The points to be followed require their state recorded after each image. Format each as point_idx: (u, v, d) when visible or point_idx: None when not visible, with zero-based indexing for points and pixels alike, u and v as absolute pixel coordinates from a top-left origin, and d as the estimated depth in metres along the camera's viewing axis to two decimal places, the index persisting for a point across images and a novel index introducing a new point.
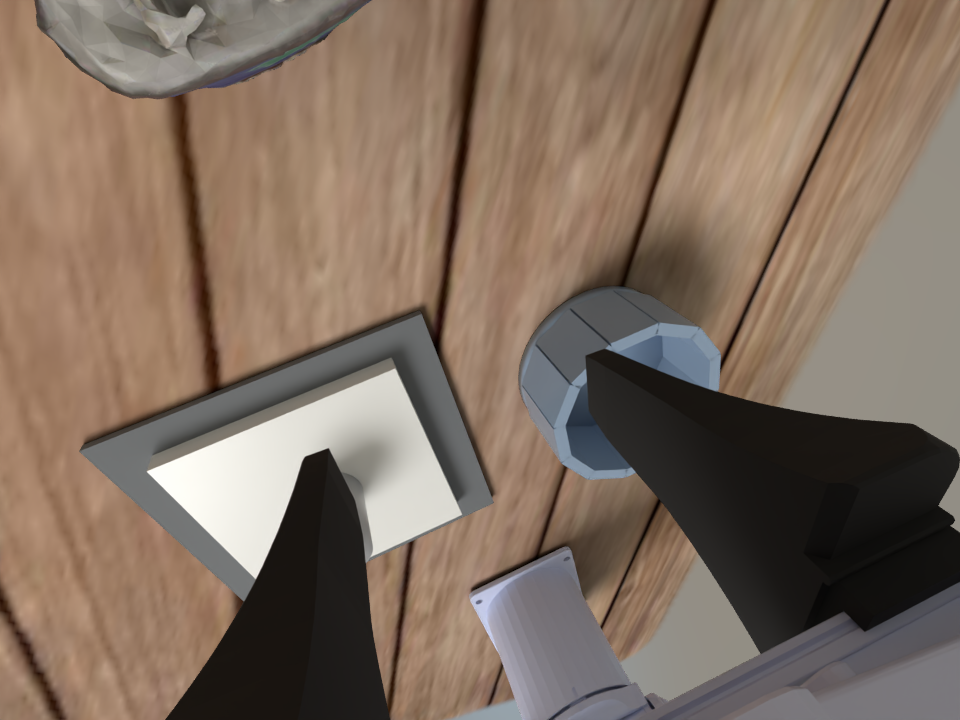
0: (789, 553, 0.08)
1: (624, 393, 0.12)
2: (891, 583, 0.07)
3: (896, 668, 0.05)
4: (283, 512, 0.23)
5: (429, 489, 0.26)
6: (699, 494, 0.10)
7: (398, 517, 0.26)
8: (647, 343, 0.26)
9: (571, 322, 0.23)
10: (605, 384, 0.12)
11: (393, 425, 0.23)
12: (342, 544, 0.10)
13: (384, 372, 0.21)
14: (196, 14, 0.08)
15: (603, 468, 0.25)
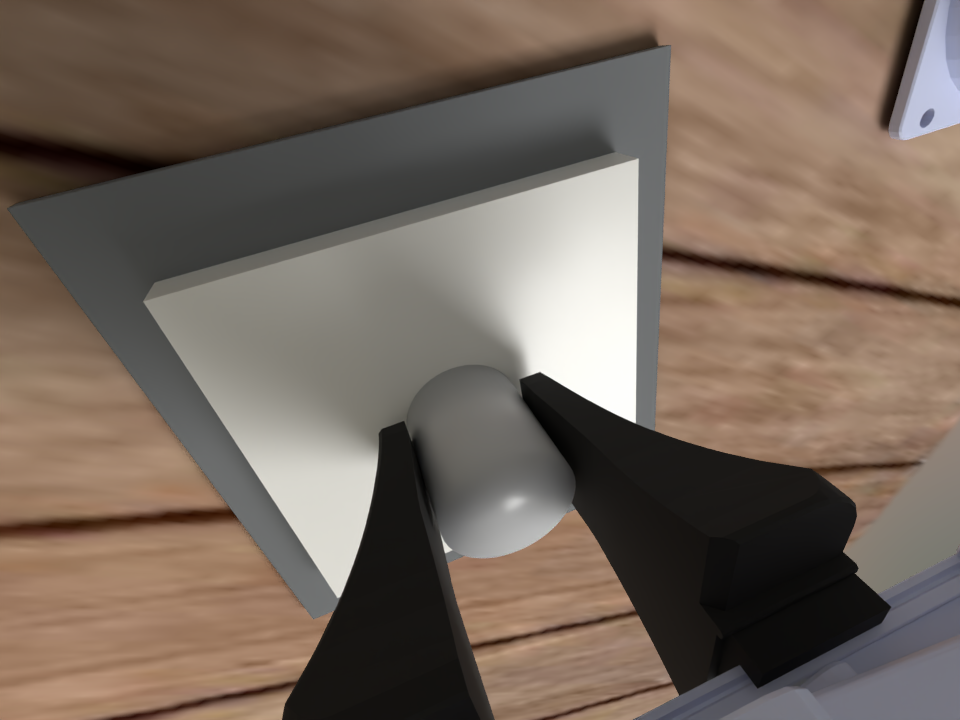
0: (689, 601, 0.08)
1: (551, 421, 0.11)
2: (785, 637, 0.07)
3: (896, 668, 0.05)
4: None
5: (524, 236, 0.11)
6: (617, 529, 0.10)
7: (569, 303, 0.13)
8: None
9: None
10: (536, 410, 0.12)
11: (315, 308, 0.11)
12: (428, 510, 0.11)
13: (158, 322, 0.10)
14: None
15: None
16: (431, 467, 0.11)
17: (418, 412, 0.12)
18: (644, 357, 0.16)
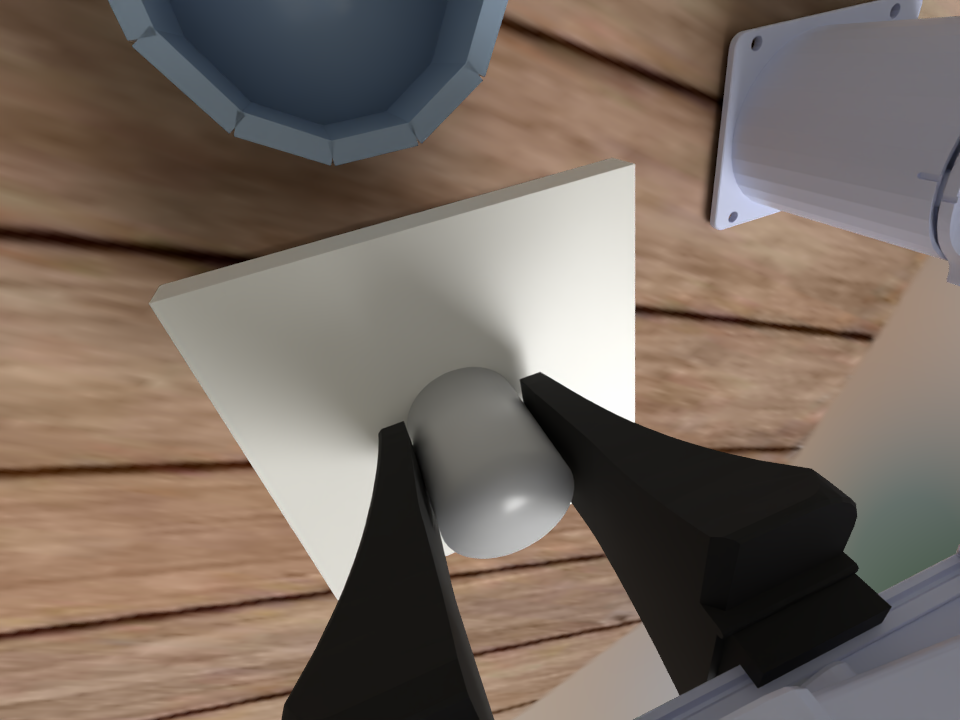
0: (689, 601, 0.08)
1: (551, 421, 0.11)
2: (786, 637, 0.07)
3: (896, 668, 0.05)
4: None
5: (523, 240, 0.11)
6: (618, 529, 0.10)
7: (568, 306, 0.13)
8: None
9: None
10: (537, 410, 0.12)
11: (317, 310, 0.11)
12: (427, 510, 0.11)
13: (163, 324, 0.10)
14: None
15: (472, 34, 0.12)
16: (431, 467, 0.11)
17: (418, 414, 0.12)
18: None
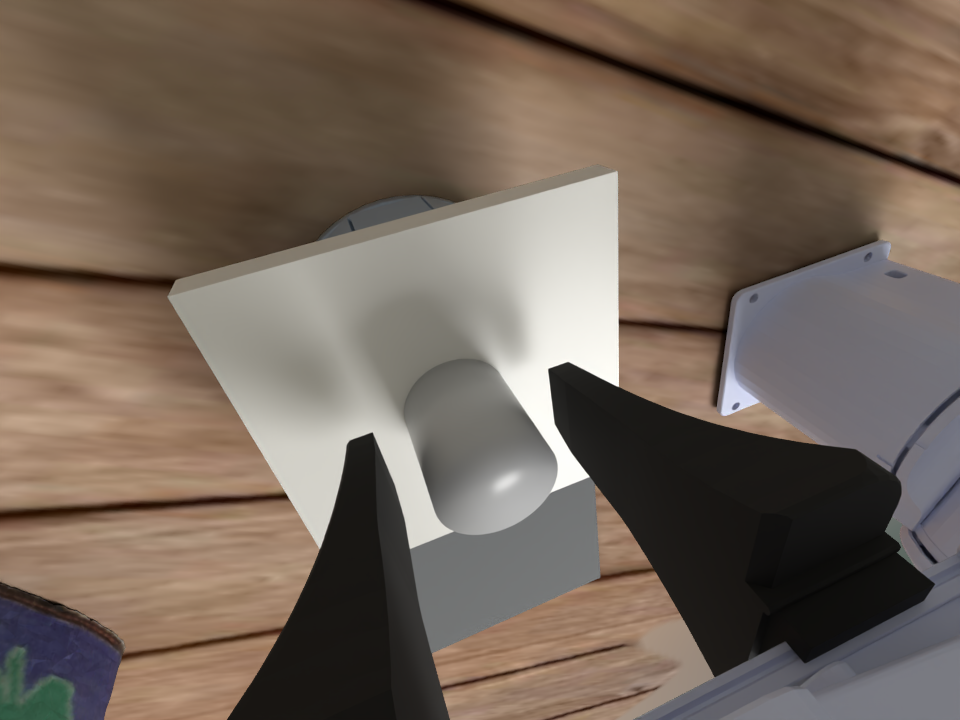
0: (733, 580, 0.08)
1: (583, 409, 0.11)
2: (832, 613, 0.07)
3: (896, 668, 0.05)
4: None
5: (513, 241, 0.12)
6: (653, 514, 0.10)
7: (555, 302, 0.14)
8: None
9: None
10: (566, 399, 0.12)
11: (321, 304, 0.12)
12: (392, 524, 0.10)
13: (180, 316, 0.11)
14: None
15: None
16: (426, 450, 0.12)
17: (414, 401, 0.13)
18: (589, 523, 0.29)
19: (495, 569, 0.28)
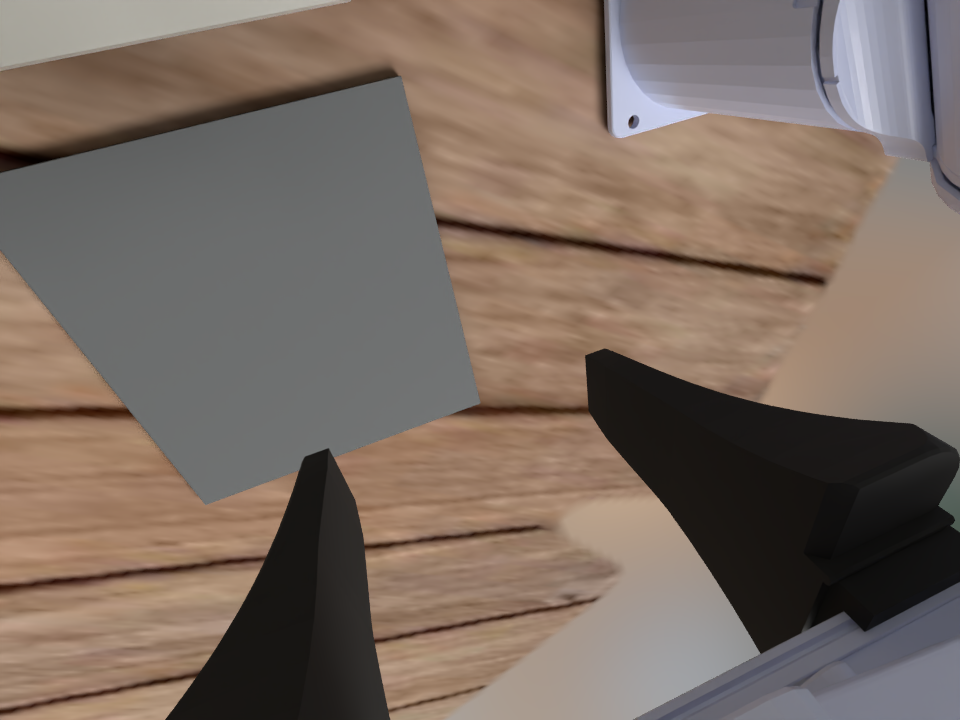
0: (789, 553, 0.08)
1: (624, 393, 0.12)
2: (891, 583, 0.07)
3: (896, 668, 0.05)
4: None
5: None
6: (699, 494, 0.10)
7: None
8: None
9: None
10: (605, 384, 0.12)
11: None
12: (342, 544, 0.10)
13: None
14: None
15: None
16: None
17: None
18: (444, 301, 0.21)
19: (312, 357, 0.21)
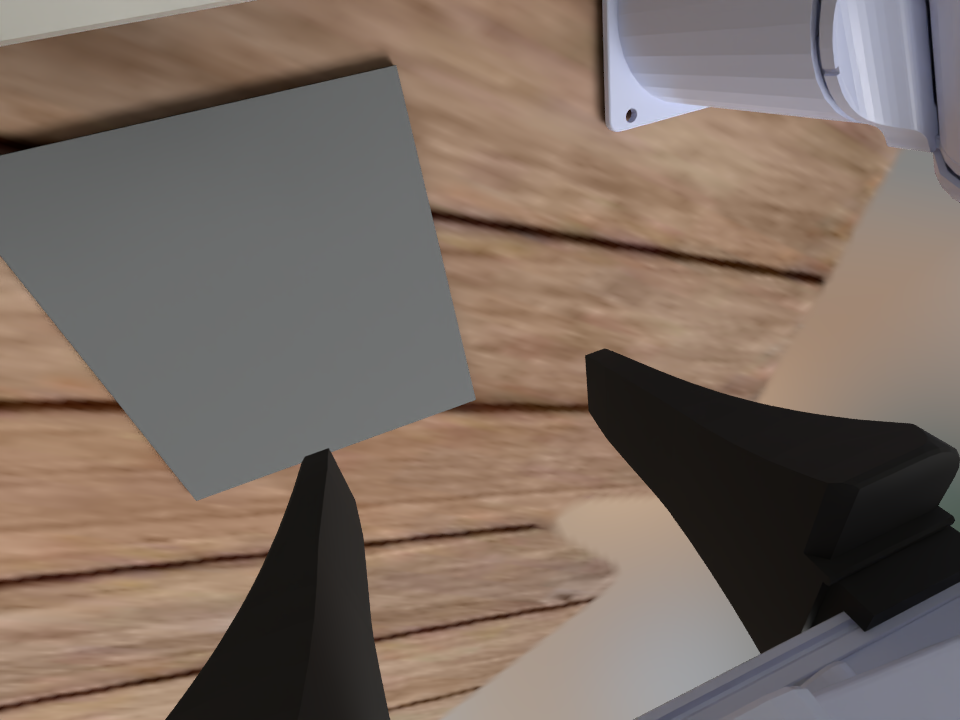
0: (789, 553, 0.08)
1: (624, 393, 0.12)
2: (891, 583, 0.07)
3: (896, 668, 0.05)
4: None
5: None
6: (699, 494, 0.10)
7: None
8: None
9: None
10: (605, 384, 0.12)
11: None
12: (342, 544, 0.10)
13: None
14: None
15: None
16: None
17: None
18: (439, 296, 0.21)
19: (305, 351, 0.21)
